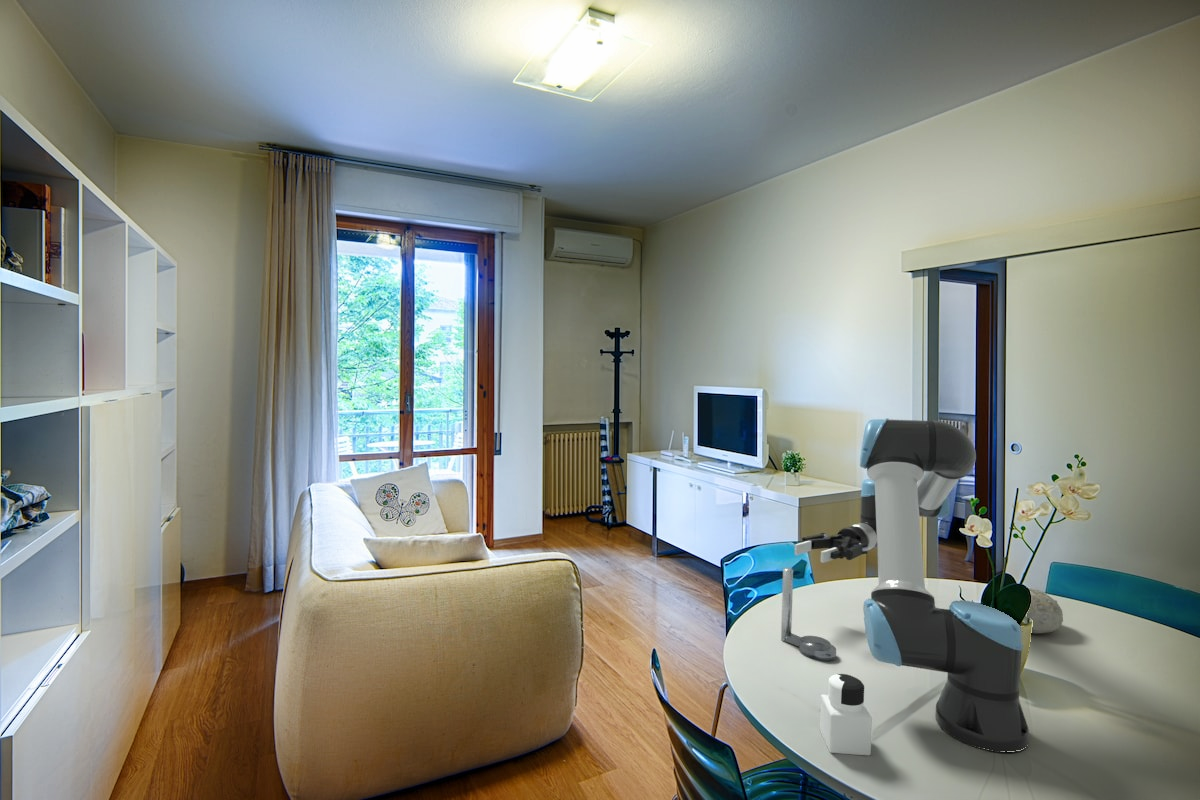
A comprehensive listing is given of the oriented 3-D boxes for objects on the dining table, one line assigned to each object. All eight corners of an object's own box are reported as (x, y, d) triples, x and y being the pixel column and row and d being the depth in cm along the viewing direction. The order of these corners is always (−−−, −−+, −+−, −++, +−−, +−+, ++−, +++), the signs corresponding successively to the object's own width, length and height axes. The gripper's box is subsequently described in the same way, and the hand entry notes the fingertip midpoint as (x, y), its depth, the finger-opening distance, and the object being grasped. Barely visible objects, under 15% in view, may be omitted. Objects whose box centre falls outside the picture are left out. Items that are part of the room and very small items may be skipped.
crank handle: (842, 656, 141) (844, 581, 140) (825, 664, 137) (828, 587, 136) (790, 634, 152) (792, 565, 151) (773, 642, 148) (775, 570, 147)
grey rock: (979, 627, 162) (980, 591, 161) (985, 607, 176) (986, 574, 176) (1062, 647, 151) (1064, 608, 151) (1061, 623, 165) (1063, 588, 165)
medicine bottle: (858, 732, 113) (860, 670, 113) (871, 756, 106) (873, 690, 106) (819, 729, 114) (821, 668, 114) (829, 753, 107) (831, 688, 106)
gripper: (890, 561, 159) (844, 578, 145) (823, 544, 175) (775, 558, 161) (891, 533, 159) (845, 548, 145) (824, 518, 175) (776, 530, 160)
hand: (808, 553), depth 153 cm, fingers open, 7 cm apart
